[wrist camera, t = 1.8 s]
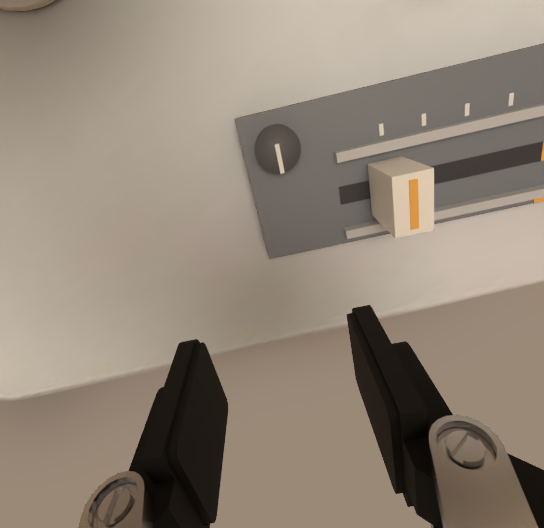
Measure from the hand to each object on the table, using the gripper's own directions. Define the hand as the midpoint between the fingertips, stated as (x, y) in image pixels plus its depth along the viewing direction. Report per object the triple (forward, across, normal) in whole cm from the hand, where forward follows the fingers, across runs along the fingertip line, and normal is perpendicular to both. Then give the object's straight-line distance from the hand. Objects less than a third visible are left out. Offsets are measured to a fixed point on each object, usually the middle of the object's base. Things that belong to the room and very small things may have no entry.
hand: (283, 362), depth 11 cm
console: (+19, -15, -2) cm, 25 cm away
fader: (+17, -9, 0) cm, 19 cm away
